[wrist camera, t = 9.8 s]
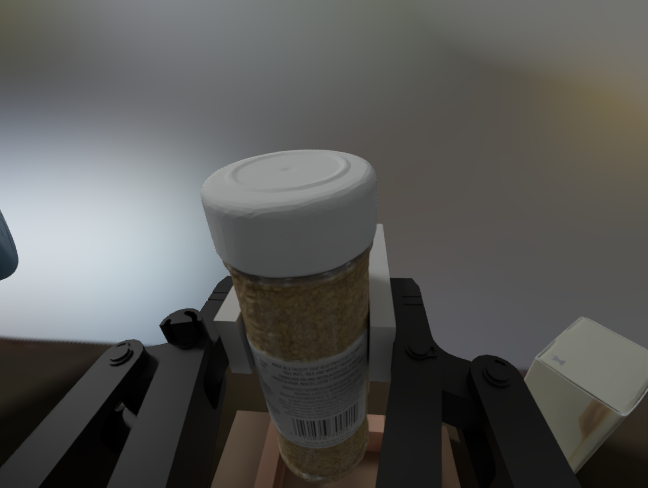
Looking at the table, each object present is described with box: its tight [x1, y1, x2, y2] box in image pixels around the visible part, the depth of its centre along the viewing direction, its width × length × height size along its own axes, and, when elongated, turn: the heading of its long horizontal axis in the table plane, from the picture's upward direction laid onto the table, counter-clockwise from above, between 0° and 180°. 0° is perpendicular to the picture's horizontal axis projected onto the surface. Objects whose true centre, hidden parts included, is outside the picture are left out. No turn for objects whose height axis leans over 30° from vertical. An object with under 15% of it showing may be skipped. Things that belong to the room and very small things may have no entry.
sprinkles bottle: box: [201, 150, 377, 484], centre depth 11 cm, size 5×5×13 cm
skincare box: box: [524, 317, 648, 474], centre depth 20 cm, size 6×4×12 cm
